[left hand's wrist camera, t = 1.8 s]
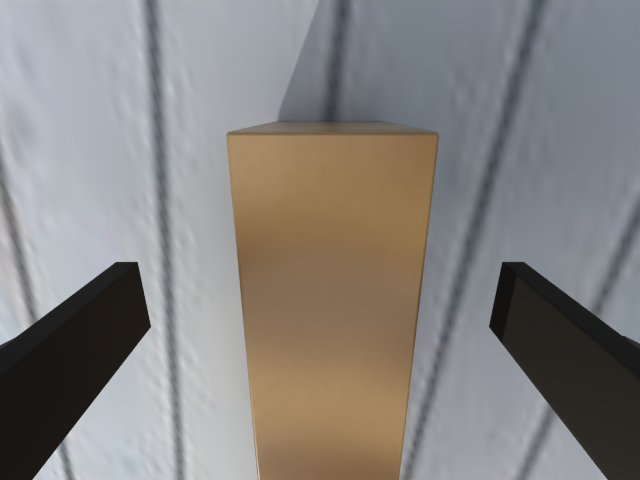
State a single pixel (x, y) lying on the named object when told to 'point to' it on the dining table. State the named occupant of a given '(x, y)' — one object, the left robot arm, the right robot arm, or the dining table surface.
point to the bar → (330, 289)
